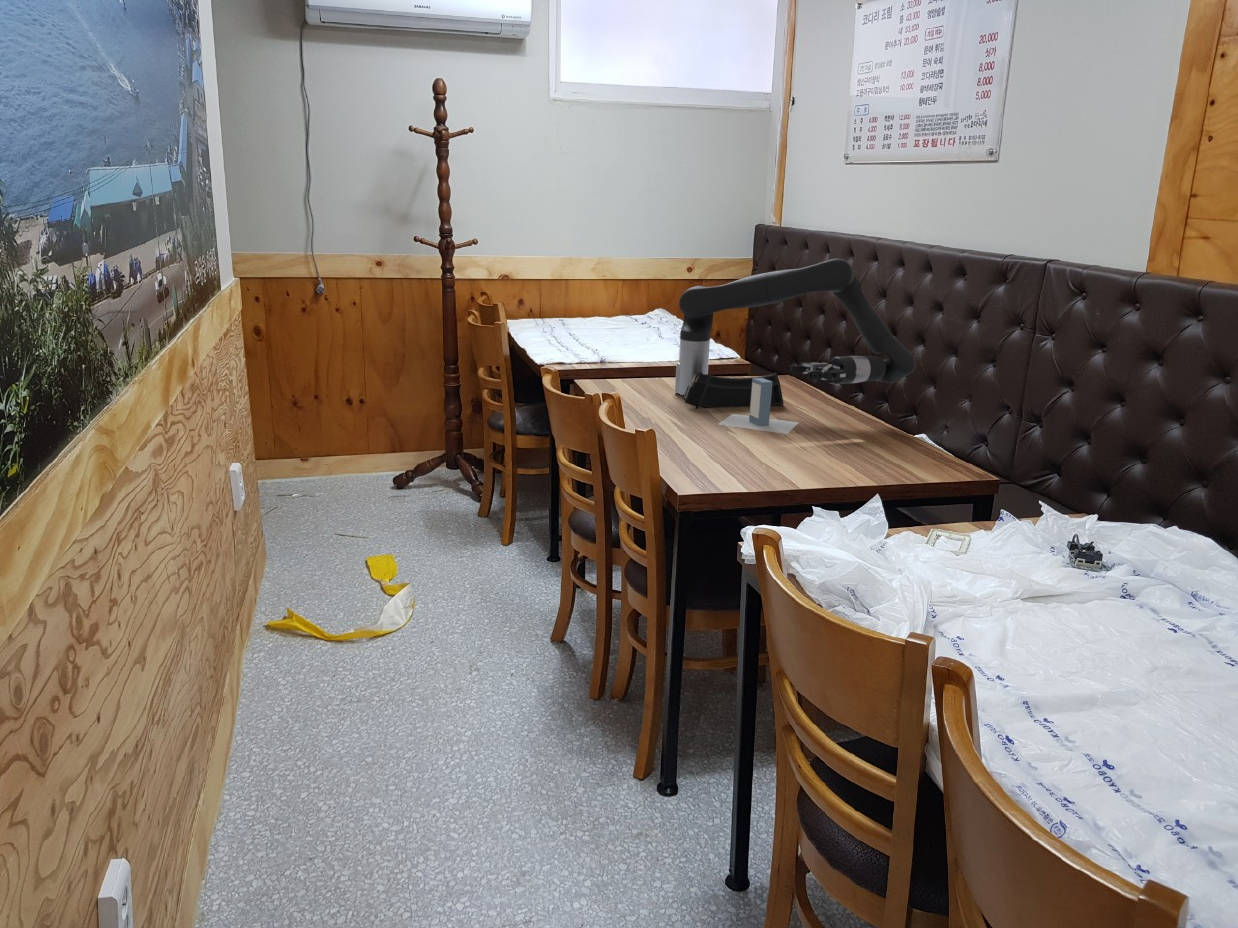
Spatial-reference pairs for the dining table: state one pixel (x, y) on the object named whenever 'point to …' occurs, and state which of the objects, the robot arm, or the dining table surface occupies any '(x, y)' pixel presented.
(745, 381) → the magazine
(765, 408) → the placard
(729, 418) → the mat
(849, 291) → the robot arm
